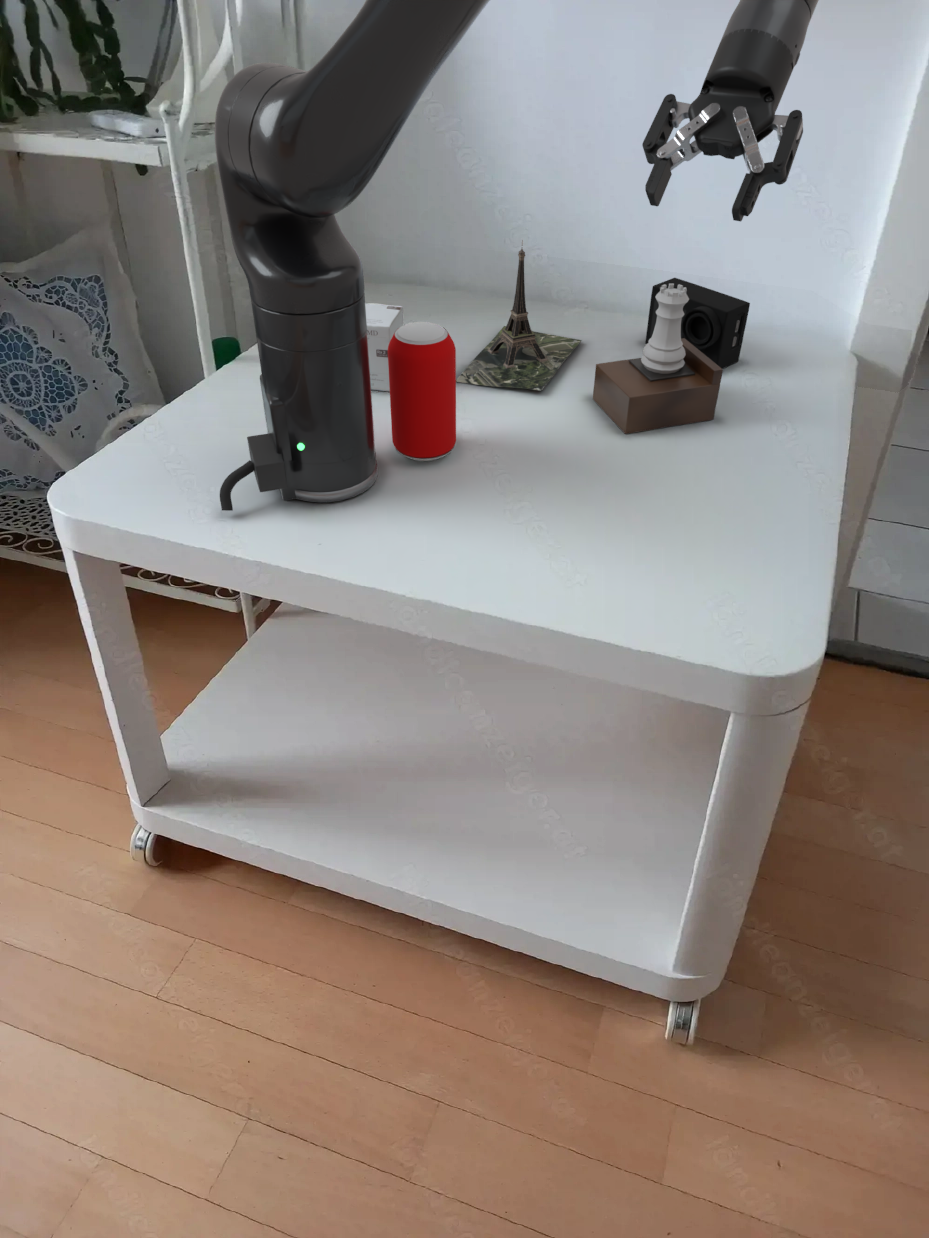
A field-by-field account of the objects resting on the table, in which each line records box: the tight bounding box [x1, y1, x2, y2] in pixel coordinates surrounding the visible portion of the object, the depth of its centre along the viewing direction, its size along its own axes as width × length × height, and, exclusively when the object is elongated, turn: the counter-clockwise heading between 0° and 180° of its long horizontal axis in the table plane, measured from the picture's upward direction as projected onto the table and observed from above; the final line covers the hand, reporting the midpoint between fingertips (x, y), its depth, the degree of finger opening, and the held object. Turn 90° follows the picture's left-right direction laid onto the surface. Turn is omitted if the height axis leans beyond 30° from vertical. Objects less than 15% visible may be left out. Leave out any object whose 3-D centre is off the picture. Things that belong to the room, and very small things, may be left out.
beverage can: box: [388, 321, 457, 462], centre depth 87 cm, size 6×6×12 cm
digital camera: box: [644, 277, 751, 370], centre depth 106 cm, size 10×5×7 cm, turn 42°
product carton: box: [365, 302, 404, 392], centre depth 101 cm, size 6×6×7 cm
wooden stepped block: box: [592, 338, 724, 435], centre depth 96 cm, size 10×8×6 cm
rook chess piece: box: [640, 284, 689, 374], centre depth 94 cm, size 4×4×8 cm
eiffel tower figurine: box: [456, 239, 583, 391], centre depth 102 cm, size 15×10×13 cm
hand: (693, 209), depth 90 cm, fingers open, 8 cm apart
